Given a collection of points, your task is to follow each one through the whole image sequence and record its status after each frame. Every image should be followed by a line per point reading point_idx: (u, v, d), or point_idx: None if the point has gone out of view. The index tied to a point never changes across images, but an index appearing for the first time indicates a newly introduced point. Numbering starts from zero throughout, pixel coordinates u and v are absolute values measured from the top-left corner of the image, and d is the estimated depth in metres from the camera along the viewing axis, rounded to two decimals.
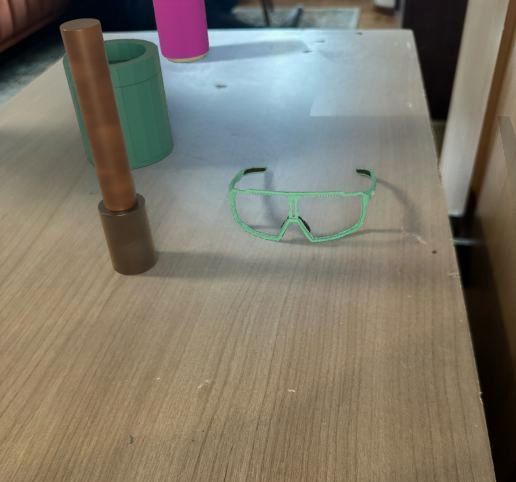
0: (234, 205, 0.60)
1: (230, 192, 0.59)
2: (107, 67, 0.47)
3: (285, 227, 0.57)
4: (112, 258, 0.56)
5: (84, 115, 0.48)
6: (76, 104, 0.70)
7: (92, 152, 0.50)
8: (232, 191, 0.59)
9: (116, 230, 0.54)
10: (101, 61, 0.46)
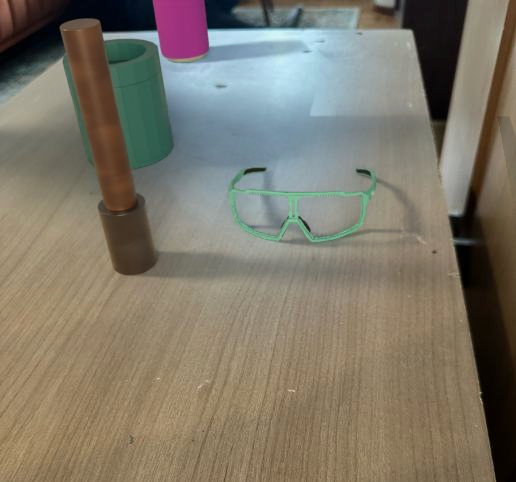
0: (234, 205, 0.60)
1: (230, 192, 0.59)
2: (107, 67, 0.47)
3: (285, 227, 0.57)
4: (112, 258, 0.56)
5: (84, 115, 0.48)
6: (76, 104, 0.70)
7: (92, 152, 0.50)
8: (232, 191, 0.59)
9: (116, 230, 0.54)
10: (101, 61, 0.46)
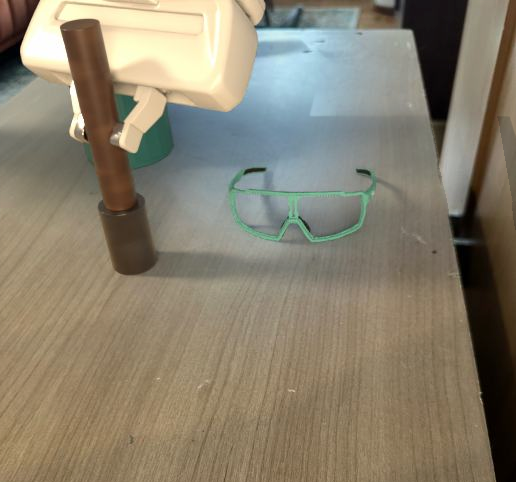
0: (234, 205, 0.60)
1: (230, 192, 0.59)
2: (107, 67, 0.47)
3: (285, 227, 0.57)
4: (112, 258, 0.56)
5: (84, 115, 0.48)
6: None
7: (92, 152, 0.50)
8: (232, 191, 0.59)
9: (116, 230, 0.54)
10: (101, 61, 0.46)
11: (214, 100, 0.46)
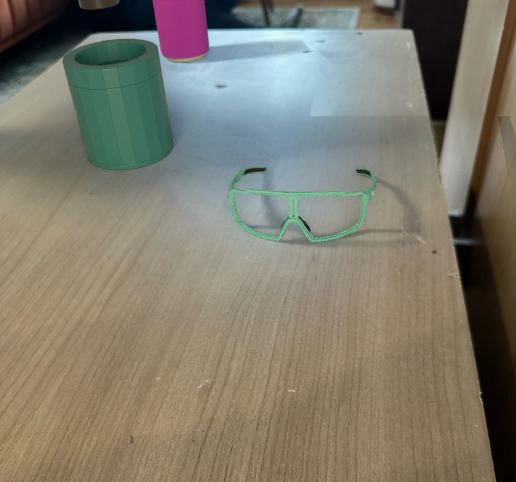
0: (234, 205, 0.60)
1: (230, 192, 0.59)
2: None
3: (285, 227, 0.57)
4: None
5: None
6: (76, 104, 0.70)
7: None
8: (232, 191, 0.59)
9: None
10: None
11: None
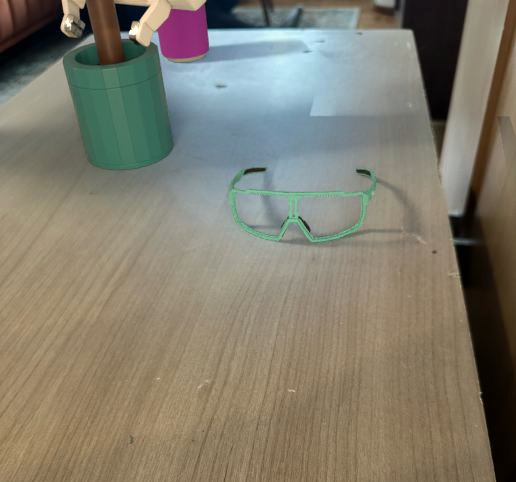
0: (234, 205, 0.60)
1: (230, 192, 0.59)
2: None
3: (285, 227, 0.57)
4: None
5: (92, 20, 0.66)
6: (76, 104, 0.70)
7: (98, 50, 0.68)
8: (232, 191, 0.59)
9: None
10: None
11: None
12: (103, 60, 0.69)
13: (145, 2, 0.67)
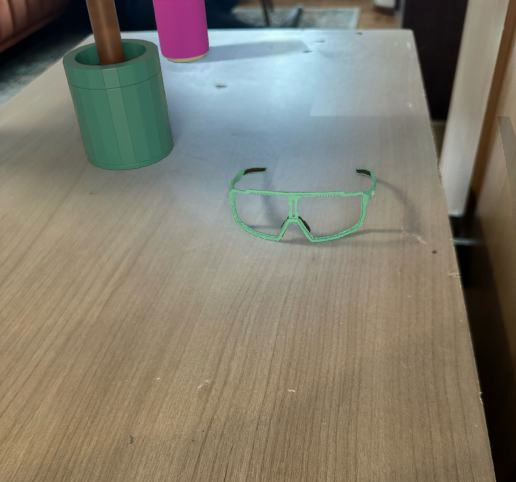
0: (234, 205, 0.60)
1: (230, 192, 0.59)
2: None
3: (285, 227, 0.57)
4: None
5: (92, 20, 0.66)
6: (76, 104, 0.70)
7: (98, 50, 0.68)
8: (232, 191, 0.59)
9: None
10: None
11: None
12: (103, 60, 0.69)
13: None
